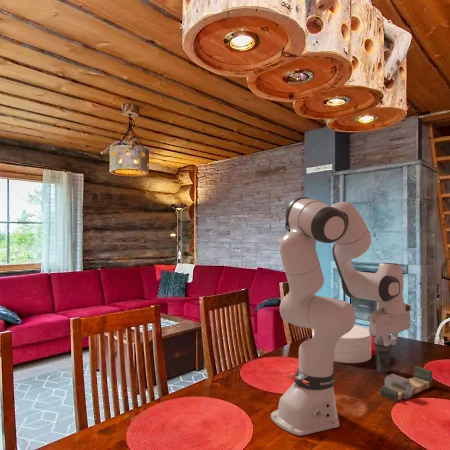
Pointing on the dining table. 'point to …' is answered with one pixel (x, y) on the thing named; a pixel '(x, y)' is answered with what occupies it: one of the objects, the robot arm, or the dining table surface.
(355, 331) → the plate stack
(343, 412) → the dining table surface
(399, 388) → the block
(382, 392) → the rail
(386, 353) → the beverage cup
